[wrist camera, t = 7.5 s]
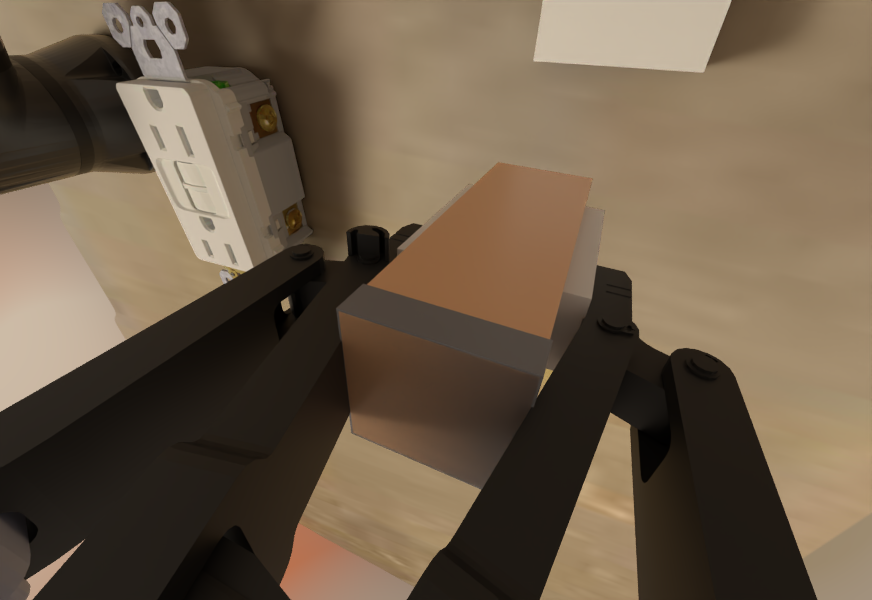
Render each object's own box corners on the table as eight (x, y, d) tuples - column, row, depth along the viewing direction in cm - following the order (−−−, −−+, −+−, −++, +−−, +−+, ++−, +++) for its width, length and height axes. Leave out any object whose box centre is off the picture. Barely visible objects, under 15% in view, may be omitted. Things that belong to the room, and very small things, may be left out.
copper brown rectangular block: (484, 244, 19) (351, 433, 10) (497, 160, 17) (336, 308, 7) (568, 264, 18) (503, 499, 9) (594, 177, 15) (543, 376, 6)
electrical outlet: (270, 0, 33) (168, 1, 26) (331, 270, 51) (280, 315, 44) (175, 1, 37) (63, 3, 30) (263, 253, 55) (206, 292, 47)
